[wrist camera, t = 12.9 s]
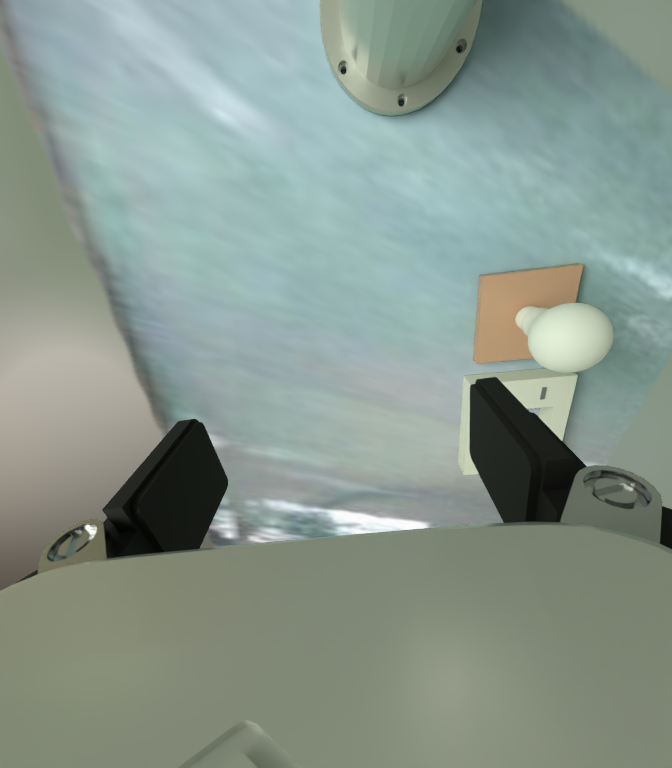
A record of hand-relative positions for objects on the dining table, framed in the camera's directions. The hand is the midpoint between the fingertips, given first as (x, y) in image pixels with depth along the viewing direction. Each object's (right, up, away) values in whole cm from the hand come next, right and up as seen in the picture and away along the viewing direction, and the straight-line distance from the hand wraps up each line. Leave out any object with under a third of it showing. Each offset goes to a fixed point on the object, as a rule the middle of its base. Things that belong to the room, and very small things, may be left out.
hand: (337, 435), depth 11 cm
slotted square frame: (+23, -3, +31) cm, 39 cm away
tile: (+21, +10, +25) cm, 34 cm away
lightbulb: (+21, +9, +24) cm, 33 cm away
